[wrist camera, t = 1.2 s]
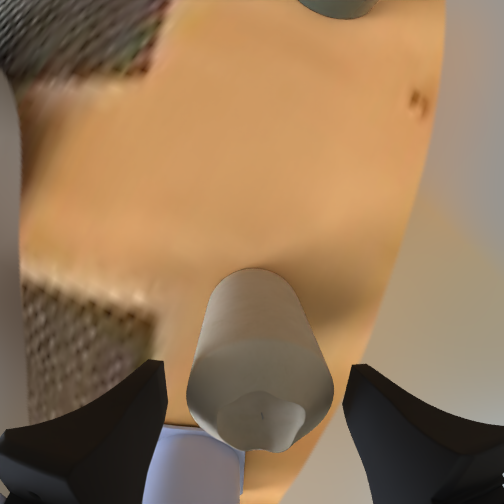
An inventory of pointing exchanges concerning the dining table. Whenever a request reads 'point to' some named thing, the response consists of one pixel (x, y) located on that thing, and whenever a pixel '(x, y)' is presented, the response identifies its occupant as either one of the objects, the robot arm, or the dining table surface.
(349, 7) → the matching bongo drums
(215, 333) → the candle
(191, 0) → the dining table surface
